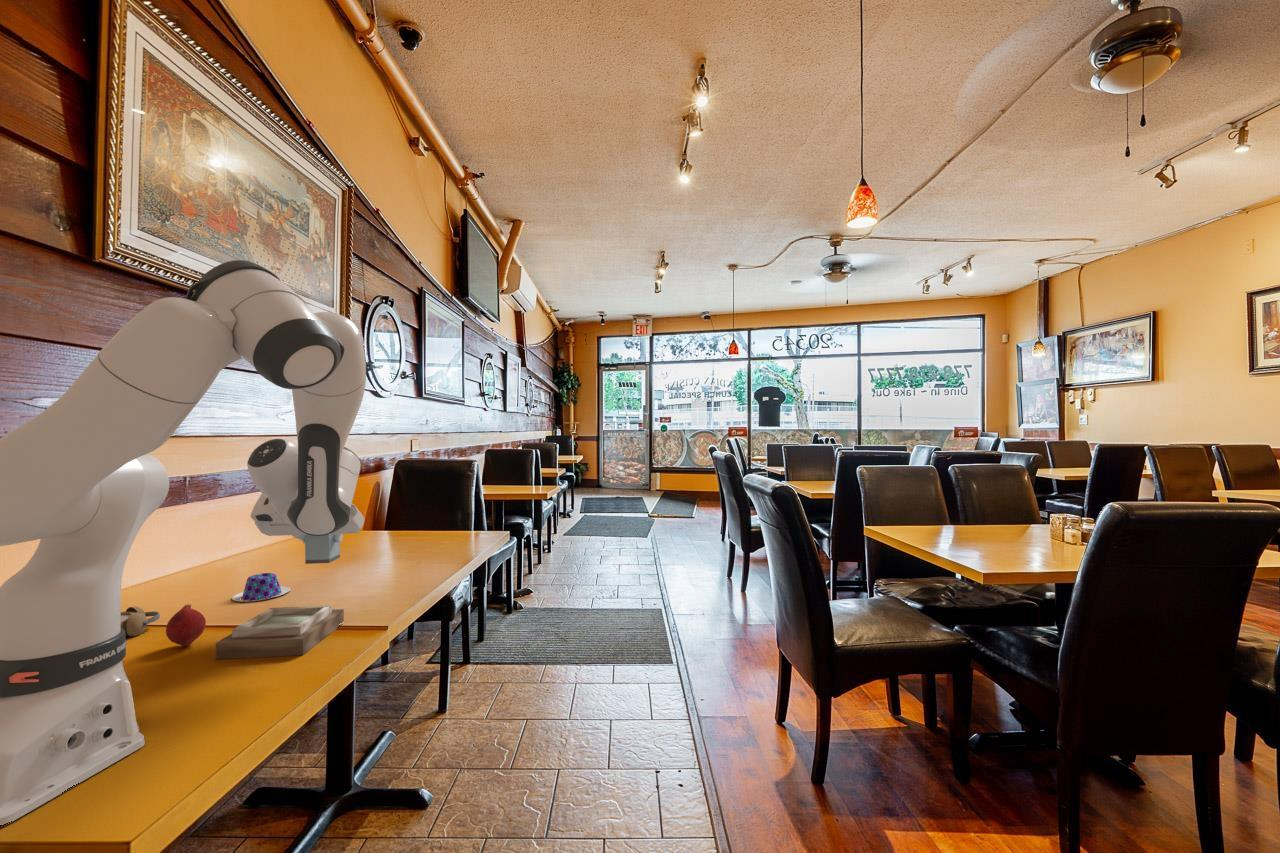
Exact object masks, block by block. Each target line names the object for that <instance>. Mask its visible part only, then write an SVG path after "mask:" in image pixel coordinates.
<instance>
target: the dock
mask: <svg viewBox="0 0 1280 853" xmlns="http://www.w3.org/2000/svg"><path fill="white" fill-rule="evenodd" d="M344 610H345V609H344V608H339V609H337V608H336V609H335V608H334V609H333V606H332V605H313V606H312V605H311V606H310V605H309V606H286V607H284V606H283V607H270V608H268V609H267V610H265V611H263V612H261V613H259V614H258V615H256V616H254V617H253V618H251V619H248V620H247V621H245V622H242V623H241V624H240V625H238V626H236V627H234V628H232V629H231V633H230V634H228V635H227V636H225V637H223V638H221V639H220V640H218V641H216V642H215V660H228V659H247V658H249V659H250V658H271V657H273V658H275V657H289V656H290V657H292V656H293V657H294V656H295V657H296V656H304V655H306V654H307V653H308V652H309V651H310V650H312V649H313V648H314V647H316V646H317V645H318V644H319V643H321V642H322V641H324V640H325V639H326V638H327V637H329V636H330V635H331V634H332V633H334V631H336V630H337V629H338V628H337V627H338V625H339V624H340V623H342V622H343V621H344V622H345V611H344Z"/></svg>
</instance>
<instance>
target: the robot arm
mask: <svg viewBox="0 0 1280 853" xmlns="http://www.w3.org/2000/svg"><path fill="white" fill-rule="evenodd" d="M242 359H244V360H246V361H247V363H249V364H250V365H251V366H253V368H254V369H255V370H256V372H257V373H258V374H259V375H260V376H261V377H263V378H264V379H266V380H267V381H268V382H270V383H272V384H274V385H275V386H277V387H279V388H282V389H286V390H291V393H292V402H293V403H292V404H293V408H294V416H295V418H294V419H295V428H296V429H295V430H296V438H297V444H296V443H294V442H291V441H289V440H288V439H284V438H273V439H270V440H267V441H265V442H263V443H261V444H260V445H258V446H257V447H256V448H254V450H253V451H252V452H251V454H250V455H249V457H248V460H247V462H246V463H247V464H246V465H247V470H248V473H249V475H250V477H251V479H252V481H253V482H254V484H255V486H256V487H257V489H258V490H259V492H260V493H261V494H260V495H259V497H258V499H257V501H256V502H255V504H254V506H253V508H252V510H251V513H250V516H249V517H250V518H251V519H252V520H253V521H254V524H255V526H256V528H257V529H258V530H259V532H260V533H262V535H265V536H268V537H275V536H277V537H279V536H292V537H294V538H296V539H298V540H299V541H301V542H302V543H303V544H304V545H305V535H312V536H323V535H327V534H333V535H334V536H333V537H332V540H333V542H334V543H339V542H340V543H342V542H343V538H344V535H345V534H358V533H360V531H361V530H362V528H363V526H364V524H365V517H364V515H363V514H362V512H361V511H360V510H359V509H358V508H357V506H356V505H355V504H353V500H354V496H355V493H356V488H357V483H358V480H359V476H360V472H361V467H362V463H361V462H362V461H361V459H360V458H359V457H358V455H357V454H356V452H354V451H352V450H351V449H350V448H348V447H345V445H346V443H347V441H348V438H349V435H350V433H351V430H352V429H353V425H354V423H355V422H356V418H357V416H358V413H359V411H360V408H361V405H362V402H363V399H364V394H365V391H366V384H367V382H366V381H367V365H366V364H367V362H366V354H365V347H364V343H363V338H362V334H361V332H360V330H359V328H358V326H357V324H355V323H354V322H353V321H352V320H351V319H349V318H347V317H346V316H344V315H342V314H339V313H335V312H330V311H329V312H328V311H320V312H314V311H313V310H312V309H311V308H310V307H309V306H308V305H307V303H306V302H305V300H304V299H303V298H302V297H301V296H300V295H299V294H298V293H296V292H295V290H293V289H292V288H290V287H289V286H288V285H287V284H286V283H284V282H283V281H282V280H281V278H279V276H278V275H276V274H275V273H274V272H272V271H271V270H269V269H267V268H266V267H263V266H262V265H260V264H258V263H255V262H253V261H248V260H243V259H237V260H236V259H235V260H234V259H233V260H230V261H226V262H223V263H221V264H219V265H216V266H214V267H213V268H211V269H210V270H208V271H207V272H205V273H204V274H203V275H202V276H201V277H200V279H198V281H197V282H195V283H193V284H191V285H190V286H189V288H188V291H187V293H186V297H185V298H184V297H177V296H176V297H174V296H169V297H163V298H160V299H157V300H155V301H152V302H151V303H150V304H148V306H146V307H145V308H143V309H142V310H140V311H139V312H138V313H137V314H136V315H134V316H133V317H132V318H131V319H129V321H128V322H126V323H125V324H124V325H123V326H122V327H120V328H119V330H118V331H117V332H116V333H115V334H114V335H113V336H112V337H111V338H110V339H109V340H108V342H107V343H106V344H104V347H102V348H101V349H100V351H99V352H98V353H97V354H96V356H95V357H94V358H93V359H92V361H91V362H90V363H89V364H88V365H87V367H86V368H85V370H83V372H82V373H80V375H79V376H78V377H77V379H76V380H75V381H74V382H73V383H72V384H71V385H70V387H69V388H67V390H66V391H65V392H64V393H63V394H62V395H61V396H60V397H59V398H58V399H57V400H56V401H54V403H52V404H51V405H50V406H48V407H47V408H46V409H44V410H43V411H41V412H40V413H39V414H37V415H36V416H35V417H33V418H32V419H30V420H28V421H26V422H24V423H23V424H22V425H20V426H19V427H17V428H15V429H14V430H12V431H10V432H9V433H7V434H5V435H4V436H2V437H0V547H4V546H10V545H15V544H22V543H26V542H32V541H37V540H39V543H38V545H37V548H36V550H35V551H34V553H33V555H32V556H31V558H30V559H29V561H28V562H27V563H26V564H25V565H24V566H23V567H22V568H21V569H20V570H19V571H17V572H16V573H15V574H13V575H11V576H10V577H9V578H8V579H6V581H4V582H3V583H2V584H1V585H0V825H3V824H6V823H8V822H10V823H12V822H14V821H16V820H18V819H19V818H21V817H23V816H25V815H26V814H28V813H30V812H31V811H33V810H35V809H37V808H39V807H40V806H42V805H44V804H45V803H47V802H48V801H51V800H53V799H54V798H56V797H58V796H60V795H61V794H63V793H65V792H66V791H68V790H69V789H68V788H70V787H72V786H73V785H75V786H77V785H78V783H79V784H80V783H82V782H83V781H85V780H87V779H88V778H91V777H92V776H94V775H96V774H98V773H100V772H101V771H103V770H104V769H106V768H108V767H110V766H111V765H113V764H115V763H117V762H118V761H120V760H122V759H124V758H125V757H126V756H129V755H131V754H132V753H134V752H136V751H138V750H139V749H141V748H143V747H144V746H145V745H146V742H145V740H146V739H145V736H144V734H142V733H141V732H140V726H139V724H138V722H137V719H136V712H135V706H134V699H133V692H132V691H133V690H132V686H131V682H130V680H129V679H128V675H127V674H126V672H125V669H124V665H123V663H124V662H123V660H124V659H125V657H126V656H127V646H128V645H127V644H128V643H127V640H126V636H125V630H124V629H122V628H121V612H122V606H121V604H122V582H123V581H122V579H123V573H124V569H125V566H126V561H127V559H128V555H129V552H130V550H131V549H132V545H133V543H134V540H135V539H136V537H137V534H138V533H139V531H140V530H141V528H142V526H143V525H144V523H145V522H146V520H148V519H149V517H150V516H151V515H152V514H153V513H154V512H155V511H156V510H158V508H160V507H161V506H162V505H163V503H164V502H165V501H166V498H167V497H168V494H169V490H170V477H169V474H168V471H167V469H166V467H165V466H164V464H163V463H162V462H161V461H160V460H159V459H158V458H157V457H155V456H153V455H151V454H150V453H152V452H154V451H156V450H158V449H159V448H161V447H162V446H163V445H164V444H165V443H166V442H168V440H169V439H170V438H171V436H173V434H174V433H175V432H176V430H177V429H178V428H179V427H180V425H181V424H182V423H183V422H184V421H185V420H186V418H187V417H188V416H189V415H190V413H191V412H192V411H193V409H194V408H195V407H196V406H197V404H199V402H200V401H201V400H202V399H203V397H204V396H205V394H206V393H207V392H208V391H209V389H210V387H211V386H212V385H213V384H214V381H216V378H217V377H218V376H219V373H220V372H221V371H223V369H225V368H227V367H228V366H230V365H231V364H233V363H235V362H237V361H239V360H242ZM76 784H77V785H76ZM73 787H74V786H73ZM73 787H72V788H73ZM67 789H68V790H67ZM70 789H71V788H70ZM65 790H66V791H65ZM64 791H65V792H64ZM62 792H63V793H62ZM11 821H12V822H11ZM8 824H9V823H8ZM6 825H7V824H6Z"/></svg>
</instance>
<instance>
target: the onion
mask: <svg viewBox="0 0 1280 853" xmlns="http://www.w3.org/2000/svg"><path fill="white" fill-rule="evenodd" d="M206 625H207V622H206V618H205V616H204V615H203V614H202V613H201V612H200V611H198V610H196V609H193V608H192V604H190V603H186V604H184V605H183V607H181V609H180V610H179V611H177V612H176V613H174V615H173V616H171V618H170V619H169V620H168V622H167V624H166V627H165V634H166V637H167V638H168V640H170V642H171V643H174V644H176V645H179V646H182V647H188V646H191V645H192V644H193V643H194V641H196V640H197V639H198V638H199V637H200V636H201V635H203V633H204V631H205V629H206V627H207V626H206Z"/></svg>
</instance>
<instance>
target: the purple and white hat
mask: <svg viewBox="0 0 1280 853" xmlns="http://www.w3.org/2000/svg"><path fill="white" fill-rule="evenodd" d="M290 591H291V588H290V587H289V586H283V585H280V583H279V579H278V576H277V575H276V573H273V572H264V573H263V572H262V573H258V574H257V573H256V574H253V575H251V576H249V577H247V579H246V581H245V586H244V590H243V591H241V592H239V593H237V594H235V595H233V596H232V597H231V599H232V600H233V601H236V602H244V601H243V600H245V601H250V600H251V601H252V602H256V601H259V600H260V601H263V600H269V599H273V598H277V597H280V596H282V595H285V594H287V593H289V592H290ZM281 593H282V594H281ZM276 595H277V596H276ZM272 596H273V597H272ZM241 597H242V598H241ZM270 597H271V598H270ZM240 598H241V599H242V600H240ZM265 598H267V599H265ZM258 599H259V600H258Z"/></svg>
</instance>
